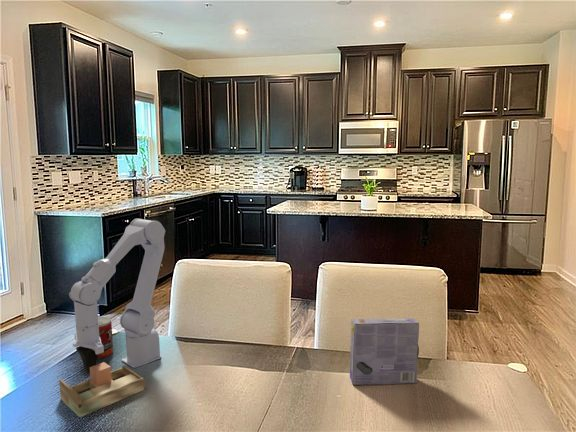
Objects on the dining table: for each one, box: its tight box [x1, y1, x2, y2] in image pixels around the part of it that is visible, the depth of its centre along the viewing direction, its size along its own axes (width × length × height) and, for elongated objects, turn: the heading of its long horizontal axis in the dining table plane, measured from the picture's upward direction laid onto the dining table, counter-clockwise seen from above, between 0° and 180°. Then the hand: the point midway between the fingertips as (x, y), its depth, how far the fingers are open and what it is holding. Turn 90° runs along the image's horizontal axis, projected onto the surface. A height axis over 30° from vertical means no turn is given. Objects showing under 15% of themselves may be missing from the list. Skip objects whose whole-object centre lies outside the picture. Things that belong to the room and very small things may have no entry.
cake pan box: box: [349, 317, 420, 386], centre depth 122 cm, size 19×5×18 cm, turn 94°
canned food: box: [98, 316, 114, 359], centre depth 141 cm, size 8×8×11 cm
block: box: [89, 361, 112, 386], centre depth 119 cm, size 4×4×4 cm
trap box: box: [58, 364, 147, 418], centre depth 117 cm, size 18×12×5 cm
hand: (90, 370), depth 123 cm, fingers closed
